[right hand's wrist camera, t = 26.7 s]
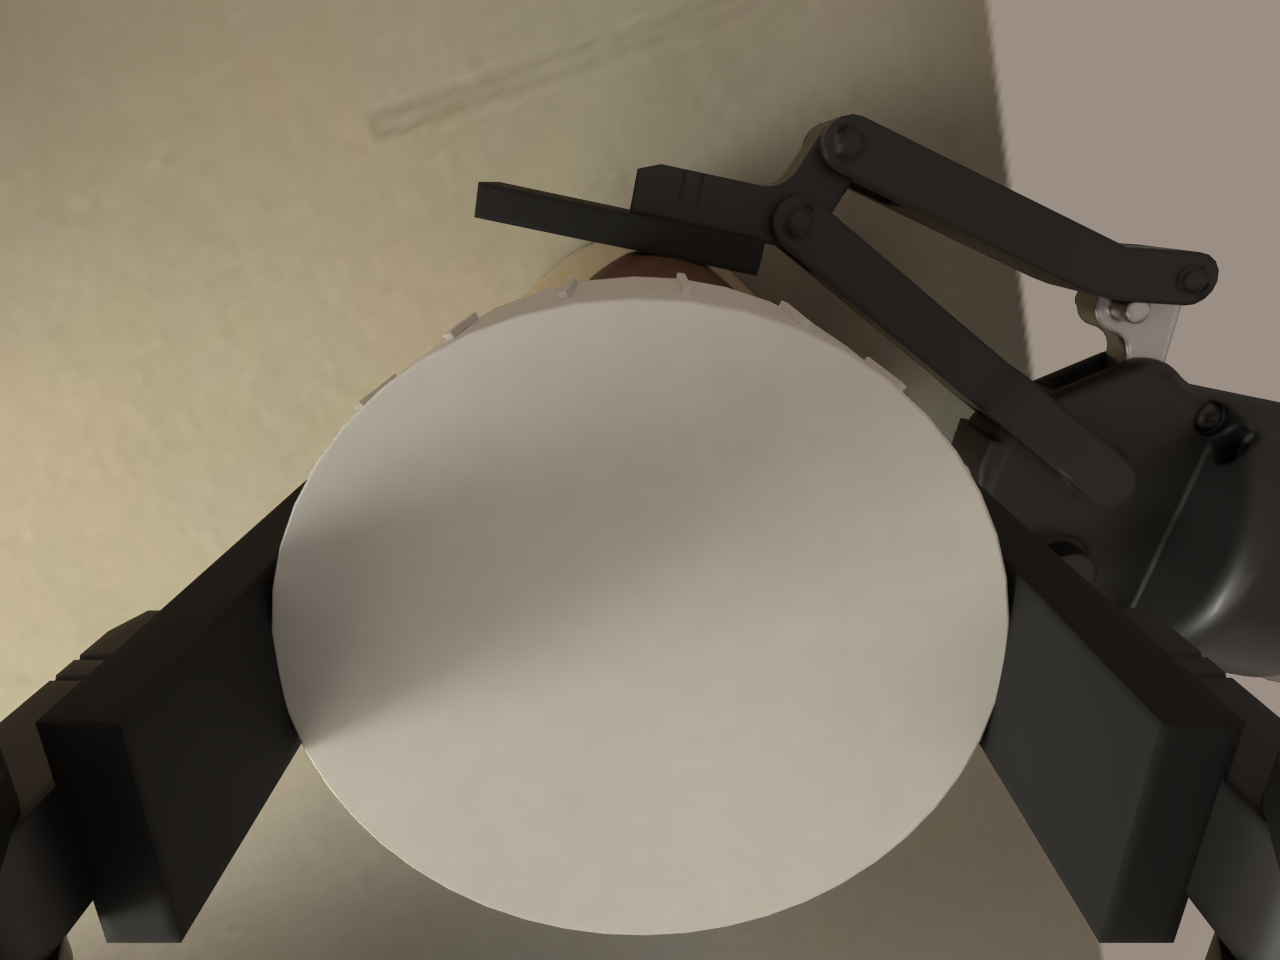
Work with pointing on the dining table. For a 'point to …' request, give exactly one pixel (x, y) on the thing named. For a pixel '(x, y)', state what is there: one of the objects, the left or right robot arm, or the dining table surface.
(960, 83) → the dining table surface
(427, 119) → the dining table surface
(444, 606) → the lid
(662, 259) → the jar
